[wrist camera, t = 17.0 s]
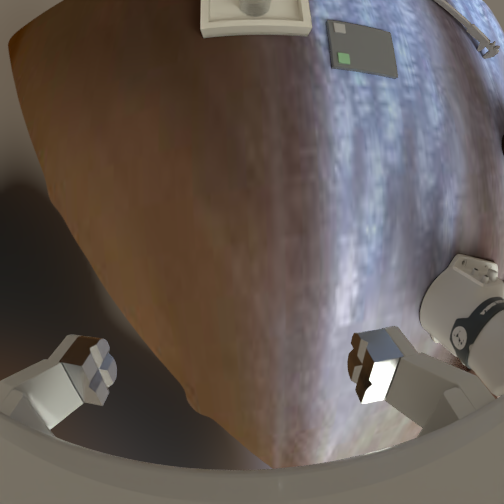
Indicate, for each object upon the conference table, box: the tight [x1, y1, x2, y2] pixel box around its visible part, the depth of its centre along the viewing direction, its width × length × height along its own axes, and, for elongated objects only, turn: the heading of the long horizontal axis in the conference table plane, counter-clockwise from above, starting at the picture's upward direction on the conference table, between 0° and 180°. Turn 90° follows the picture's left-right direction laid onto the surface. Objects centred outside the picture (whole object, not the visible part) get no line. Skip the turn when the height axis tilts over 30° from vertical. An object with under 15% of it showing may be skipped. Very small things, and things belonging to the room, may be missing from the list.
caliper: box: [434, 0, 500, 59], centre depth 21 cm, size 20×1×6 cm, turn 54°
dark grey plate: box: [326, 20, 398, 79], centre depth 28 cm, size 10×8×1 cm
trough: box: [200, 0, 312, 38], centre depth 25 cm, size 14×10×3 cm
